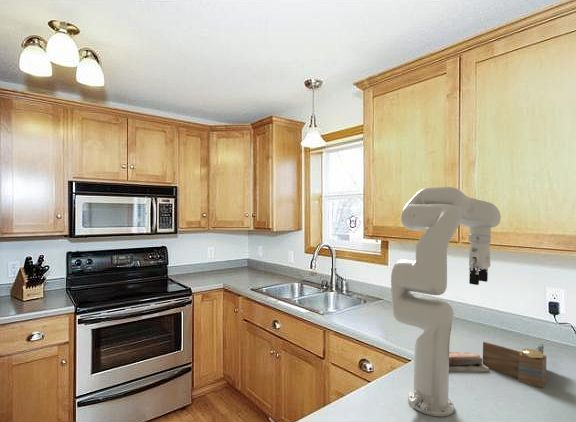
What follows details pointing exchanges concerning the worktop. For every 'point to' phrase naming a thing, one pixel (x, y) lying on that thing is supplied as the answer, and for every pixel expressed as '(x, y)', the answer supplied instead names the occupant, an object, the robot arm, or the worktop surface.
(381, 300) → the worktop surface
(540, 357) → the hinge pin
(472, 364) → the packaged product
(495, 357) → the hinge
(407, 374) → the worktop surface
